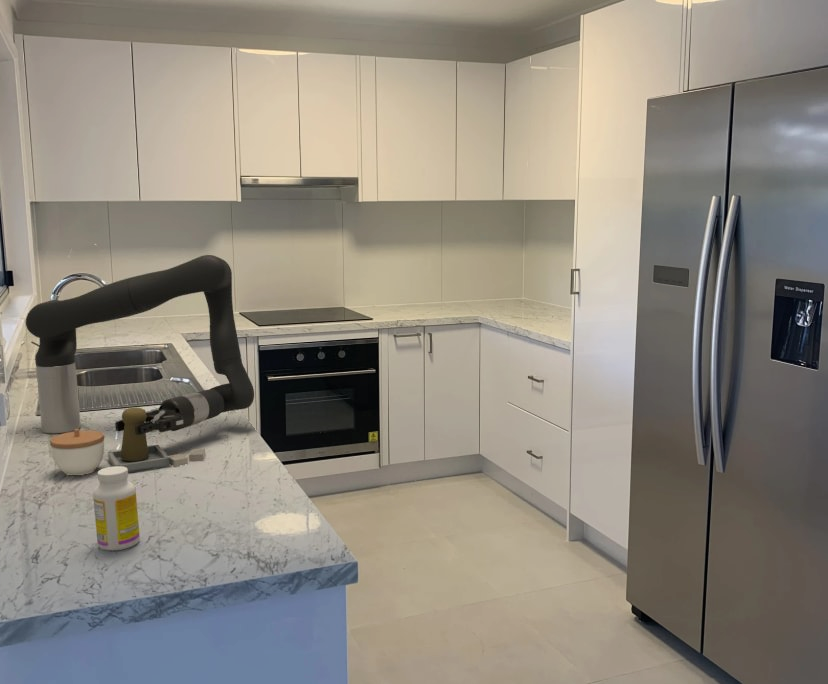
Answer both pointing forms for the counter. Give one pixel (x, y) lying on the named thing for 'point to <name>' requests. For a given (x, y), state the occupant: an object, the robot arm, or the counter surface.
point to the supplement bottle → (115, 510)
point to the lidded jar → (78, 451)
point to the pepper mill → (133, 435)
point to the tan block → (178, 460)
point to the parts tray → (153, 461)
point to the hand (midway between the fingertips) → (126, 428)
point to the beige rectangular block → (197, 455)
